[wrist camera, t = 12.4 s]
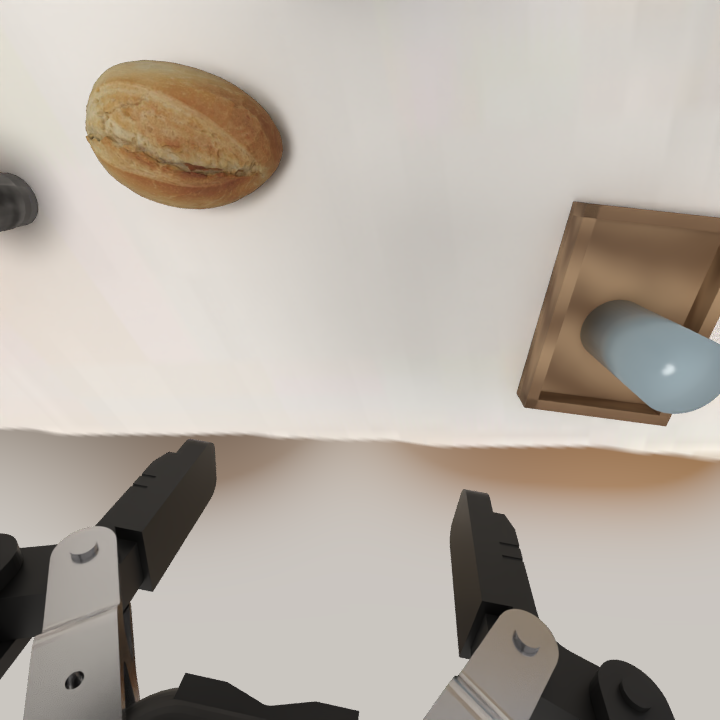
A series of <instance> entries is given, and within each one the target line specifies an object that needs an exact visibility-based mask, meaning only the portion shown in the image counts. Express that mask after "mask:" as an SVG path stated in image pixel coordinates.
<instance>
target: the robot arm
mask: <svg viewBox="0 0 720 720" xmlns="http://www.w3.org/2000/svg"><path fill="white" fill-rule="evenodd" d="M215 486H216V462H215V447H214V444H213V443H210V442H205V441H199V440H194V439H188V440H187V441H186V442H185V443H184V444H183V445H182V447H181V448H180V449H179V450H178V451H177V453H172V452H168V453H166V454H165V455H163V456H161V457H160V458H158V459H156V460H155V461H153V462H152V463H151V464H150V465H149V467H148V468H147V469H146V470H145V471H144V472H143V474H142V476H140V477H139V478H138V479H137V480H136V481H135V482H134V483H133V486H131V487H130V488H129V489H128V490H127V491H126V493H124V494H123V496H122V497H121V498H120V499H119V500H118V501H117V502H116V503H115V505H114V506H113V507H112V508H111V509H110V510H109V511H108V512H107V513H106V515H105V516H104V517H103V518H102V519H101V520H100V521H99V522H98V523H97V524H96V525H95V526H93V527H87V528H84V529H81V530H78V531H76V532H74V533H72V534H70V535H68V536H67V537H66V538H64V539H63V540H62V541H61V542H60V543H59V544H56V545H49V546H37V547H27V548H19V546H18V543H17V541H16V539H15V538H14V537H13V536H11V535H8V534H0V679H1V678H2V676H3V675H4V674H5V672H6V671H7V670H8V668H9V667H10V666H11V664H12V663H13V662H14V660H15V659H16V658H17V656H18V655H19V654H20V653H21V651H22V650H23V649H24V647H25V646H26V645H27V643H28V642H29V641H30V639H31V638H32V637H35V638H34V641H33V645H32V651H31V660H30V668H29V676H28V685H27V693H26V702H25V710H24V719H23V720H358V716H359V711H356V710H351V709H347V708H343V707H338V706H333V705H329V704H324V703H320V702H306V703H295V704H286V705H275V706H267V705H264V704H262V703H260V702H259V701H257V700H256V699H254V698H252V697H251V696H249V695H248V694H246V693H244V692H243V691H241V690H239V689H238V688H236V687H234V686H232V685H231V684H229V683H228V682H225V681H220V680H216V679H210V678H206V677H202V676H197V675H193V674H188V673H185V675H184V677H183V679H182V681H181V684H180V686H179V688H172V689H168V690H164V691H160V692H158V693H155V694H152V695H150V696H148V697H146V698H144V699H142V700H140V695H139V688H138V682H137V674H136V665H135V650H134V637H133V624H132V611H131V603H130V601H131V600H132V598H133V596H134V595H135V593H136V592H137V590H138V589H142V590H147V591H152V592H153V590H154V589H155V587H156V586H157V584H158V583H159V581H160V579H161V578H162V576H163V574H164V573H165V571H166V570H167V568H168V567H169V565H170V563H171V562H172V560H173V558H174V557H175V555H176V553H177V552H178V550H179V549H180V547H181V546H182V544H183V542H184V541H185V539H186V538H187V536H188V534H189V533H190V531H191V530H192V528H193V526H194V525H195V523H196V521H197V520H198V518H199V517H200V515H201V513H202V512H203V510H204V509H205V507H206V505H207V504H208V502H209V501H210V499H211V497H212V495H213V493H214V490H215ZM450 552H451V563H452V575H453V588H454V600H455V611H456V624H457V636H458V646H459V647H458V648H459V657H461V658H466V659H470V660H469V661H468V663H467V664H466V665H465V667H464V669H463V670H462V671H461V673H460V674H459V675H458V676H455V677H454V678H453V679H452V680H451V681H450V682H449V684H448V685H447V686H446V688H445V689H444V691H443V692H442V693H441V695H440V696H439V698H438V699H437V701H436V702H435V703H434V705H433V706H432V708H431V709H430V711H429V712H428V713H427V715H426V716H425V718H424V719H423V720H675V719H674V717H673V714H672V711H671V709H670V707H669V705H668V703H667V700H666V698H665V697H664V695H663V693H662V692H661V691H660V689H659V688H658V687H657V685H656V684H655V683H654V682H653V681H652V680H651V679H650V678H649V677H648V676H647V675H646V674H645V673H643V672H642V671H641V670H639V669H638V668H636V667H635V666H633V665H631V664H629V663H627V662H624V661H620V660H609V661H606V662H604V663H603V664H602V665H601V667H599V666H597V665H595V664H593V663H591V662H589V661H587V660H585V659H583V658H582V657H580V656H578V655H576V654H574V653H572V652H570V651H569V650H567V649H565V648H564V647H562V646H561V645H560V644H559V643H558V642H556V640H555V638H554V636H553V635H552V632H551V631H550V630H549V628H548V627H547V626H546V625H545V624H544V623H543V622H542V621H541V620H540V619H539V617H538V614H537V611H536V607H535V604H534V599H533V596H532V592H531V588H530V584H529V581H528V577H527V573H526V569H525V566H524V562H523V561H522V554H521V551H520V549H519V543H518V539H517V535H516V532H515V529H514V527H513V526H512V525H511V523H510V522H509V520H508V519H507V518H506V516H505V515H504V514H499V513H494V512H493V511H492V506H491V501H490V497H489V495H488V494H487V493H482V492H476V491H471V490H465V489H463V491H462V493H461V496H460V499H459V502H458V505H457V509H456V512H455V515H454V518H453V522H452V525H451V532H450Z"/></svg>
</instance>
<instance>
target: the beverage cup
mask: <svg viewBox="0 0 720 720" xmlns="http://www.w3.org/2000/svg"><path fill="white" fill-rule="evenodd" d="M37 212H38V206H37V201H36V198H35V195H34V193H33V191H32V190H31V188H30V187H29V186H28V185H27V184H26V183H25V181H24V180H22V179H21V178H19V177H17V176H16V175H13V174H9V173H1V172H0V232H1V231H6V230H10V229H14V228H16V227H19V226H22V225H27V224H29V223H31V222H33V220H34V219H35V218H36V215H37Z"/></svg>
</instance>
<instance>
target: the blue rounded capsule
mask: <svg viewBox="0 0 720 720" xmlns="http://www.w3.org/2000/svg"><path fill="white" fill-rule="evenodd" d="M580 337H581V342H582V345H583V347H584V348H585V350H586V351H587V352H588V353H589V354H591V355H592V356H593V357H594V358H595V359H596V360H597V361H598V362H600V363H601V364H602V365H603V366H604V367H605V368H606V369H607V370H609V371H610V372H611V373H612V374H613V375H614V376H615V377H617V378H618V379H619V380H620V381H621V382H622V383H623V384H624V385H626V386H627V387H628V388H629V389H630V390H631V391H632V392H633V393H635V394H636V395H637V396H638V397H639V398H640V399H641V400H642V401H644V402H645V403H646V404H647V405H648V406H649V407H651V408H653V409H654V410H657V411H659V412H663V413H669V414H679V413H686V412H690V411H693V410H696V409H699V408H701V407H703V406H705V405H706V404H708V403H710V402H711V401H712V400H714V399H715V398H716V397H717V396H718V395H719V394H720V345H719V344H718V343H716V342H714V341H712V340H710V339H708V338H706V337H704V336H702V335H700V334H698V333H696V332H694V331H692V330H690V329H688V328H685V327H683V326H681V325H679V324H677V323H675V322H673V321H671V320H669V319H667V318H665V317H663V316H661V315H659V314H657V313H655V312H653V311H651V310H648V309H646V308H644V307H642V306H640V305H638V304H636V303H634V302H632V301H628V300H613V301H609V302H606V303H604V304H601V305H600V306H598V307H597V308H595V309H594V310H593V311H592V312H591V313H590V314H589V315H588V316H587V317H586V319H585V320H584V322H583V325H582V327H581V333H580Z"/></svg>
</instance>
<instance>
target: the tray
mask: <svg viewBox="0 0 720 720" xmlns="http://www.w3.org/2000/svg"><path fill="white" fill-rule="evenodd" d="M613 300H628V301H632V302H634V303H636V304H638V305H640V306H642V307H644V308H646V309H648V310H651V311H653V312H655V313H657V314H659V315H661V316H663V317H665V318H667V319H669V320H671V321H673V322H675V323H677V324H679V325H681V326H683V327H685V328H688V329H690V330H692V331H694V332H696V333H698V334H700V335H702V336H704V337H706V338H708V339H709V337H710V335H711V333H712V331H713V329H714V327H715V325H716V323H717V321H718V319H719V317H720V218H717V217H708V216H699V215H690V214H680V213H671V212H662V211H653V210H644V209H635V208H626V207H617V206H608V205H598V204H589V203H580V202H573V204H572V208H571V211H570V214H569V218H568V221H567V225H566V228H565V231H564V235H563V238H562V241H561V245H560V248H559V252H558V255H557V258H556V262H555V265H554V269H553V272H552V275H551V279H550V282H549V285H548V289H547V292H546V296H545V299H544V302H543V306H542V309H541V313H540V316H539V319H538V323H537V326H536V329H535V333H534V336H533V340H532V343H531V346H530V350H529V353H528V357H527V360H526V363H525V367H524V370H523V373H522V377H521V380H520V384H519V387H518V390H517V395H518V397H519V398H520V400H521V402H522V404H523V406H524V407H525V408H532V409H540V410H547V411H555V412H562V413H570V414H578V415H585V416H593V417H600V418H608V419H615V420H623V421H630V422H638V423H645V424H653V425H661V426H666V425H667V423H668V421H669V419H670V417H671V415H672V414H669V413H663V412H659V411H657V410H654V409H653V408H651V407H649V406H648V405H647V404H646V403H645V402H644V401H642V400H641V399H640V398H639V397H638V396H637V395H636V394H635V393H633V392H632V391H631V390H630V389H629V388H628V387H627V386H626V385H624V384H623V383H622V382H621V381H620V380H619V379H618V378H617V377H615V376H614V375H613V374H612V373H611V372H610V371H609V370H607V369H606V368H605V367H604V366H603V365H602V364H601V363H600V362H598V361H597V360H596V359H595V358H594V357H593V356H592V355H591V354H589V353H588V352H587V351H586V350H585V348H584V347H583V345H582V342H581V337H580V333H581V327H582V325H583V322H584V320H585V319H586V317H587V316H588V315H589V314H590V313H591V312H592V311H593V310H594V309H595V308H597V307H598V306H600V305H601V304H604V303H606V302H609V301H613Z"/></svg>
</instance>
